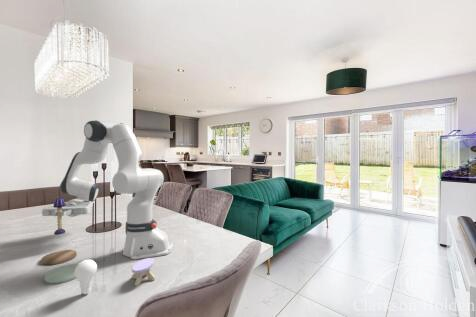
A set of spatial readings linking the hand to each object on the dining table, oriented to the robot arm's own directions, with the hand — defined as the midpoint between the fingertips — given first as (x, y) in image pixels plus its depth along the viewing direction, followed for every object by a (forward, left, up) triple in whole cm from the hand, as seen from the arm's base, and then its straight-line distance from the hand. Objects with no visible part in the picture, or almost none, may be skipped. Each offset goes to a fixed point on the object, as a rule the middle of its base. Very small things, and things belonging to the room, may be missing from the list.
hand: (58, 214), depth 105 cm
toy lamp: (0, -1, -9) cm, 9 cm away
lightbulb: (-29, +39, -17) cm, 51 cm away
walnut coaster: (-6, +10, -17) cm, 20 cm away
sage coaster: (-16, +25, -17) cm, 34 cm away
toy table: (-45, +33, -17) cm, 58 cm away
